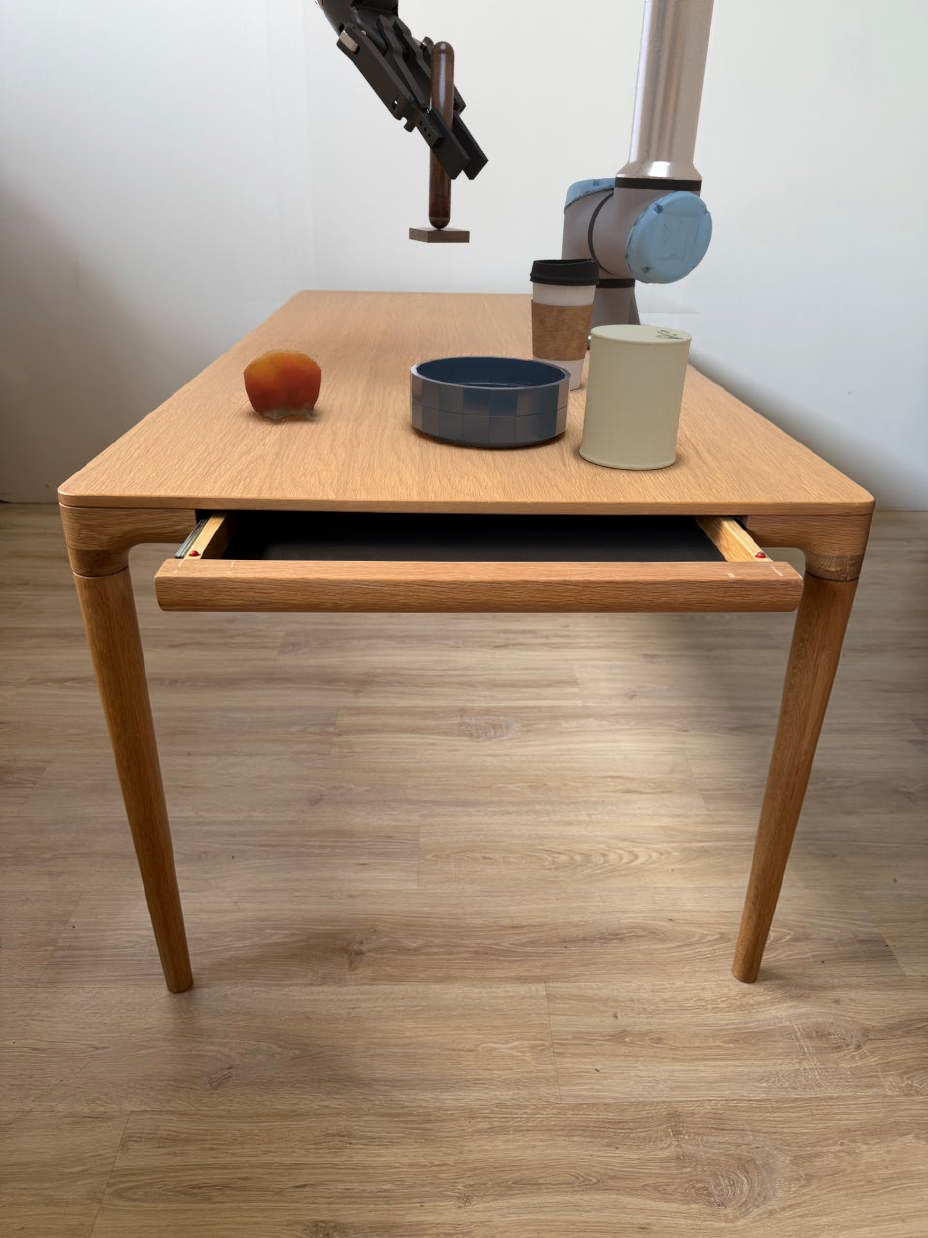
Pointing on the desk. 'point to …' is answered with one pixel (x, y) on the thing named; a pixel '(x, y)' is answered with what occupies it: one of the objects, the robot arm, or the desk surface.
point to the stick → (437, 176)
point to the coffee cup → (563, 312)
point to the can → (634, 396)
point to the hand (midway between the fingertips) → (469, 169)
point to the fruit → (283, 383)
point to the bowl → (489, 400)
